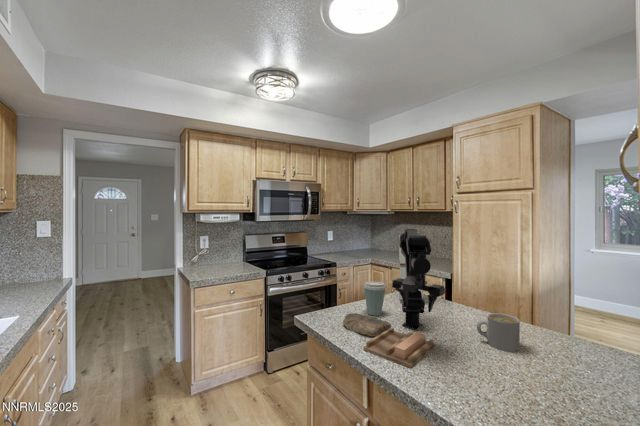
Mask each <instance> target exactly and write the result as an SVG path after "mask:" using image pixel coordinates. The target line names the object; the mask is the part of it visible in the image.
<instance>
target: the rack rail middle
mask: <svg viewBox="0 0 640 426" xmlns="http://www.w3.org/2000/svg"><path fill="white" fill-rule="evenodd" d="M412 334H414V332H413V333H412V332H410V333H408V334H406V335H407V336H405V337H404V338H402V339H401V340H399V341H398V342H396V343H395V344H393V345H392V346H390V347H389V348H388V349H386V354H387V355H390V354H391V353H392V352H394V351H395V346H396V345H398V344H399V343H401V342H402V341H404V340H405V339H407V338H408V337H409V336H411V335H412Z"/></svg>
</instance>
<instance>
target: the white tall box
mask: <svg viewBox="0 0 640 426" xmlns="http://www.w3.org/2000/svg"><path fill="white" fill-rule="evenodd" d="M401 235H402V234H401ZM401 235H399V236H398V239H400V236H401ZM398 250H399V254H398V255H399V257H398V258H399V262H398V263H399V278H401V279H405V278H406V266H405V257H404V255H403V254H402V253H401V248H400V247H399V246H398ZM418 290H419V289H418ZM419 291H421V294H422V299H423V300H424V290H419ZM399 304H402V296H401V294H400V293H399Z"/></svg>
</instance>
